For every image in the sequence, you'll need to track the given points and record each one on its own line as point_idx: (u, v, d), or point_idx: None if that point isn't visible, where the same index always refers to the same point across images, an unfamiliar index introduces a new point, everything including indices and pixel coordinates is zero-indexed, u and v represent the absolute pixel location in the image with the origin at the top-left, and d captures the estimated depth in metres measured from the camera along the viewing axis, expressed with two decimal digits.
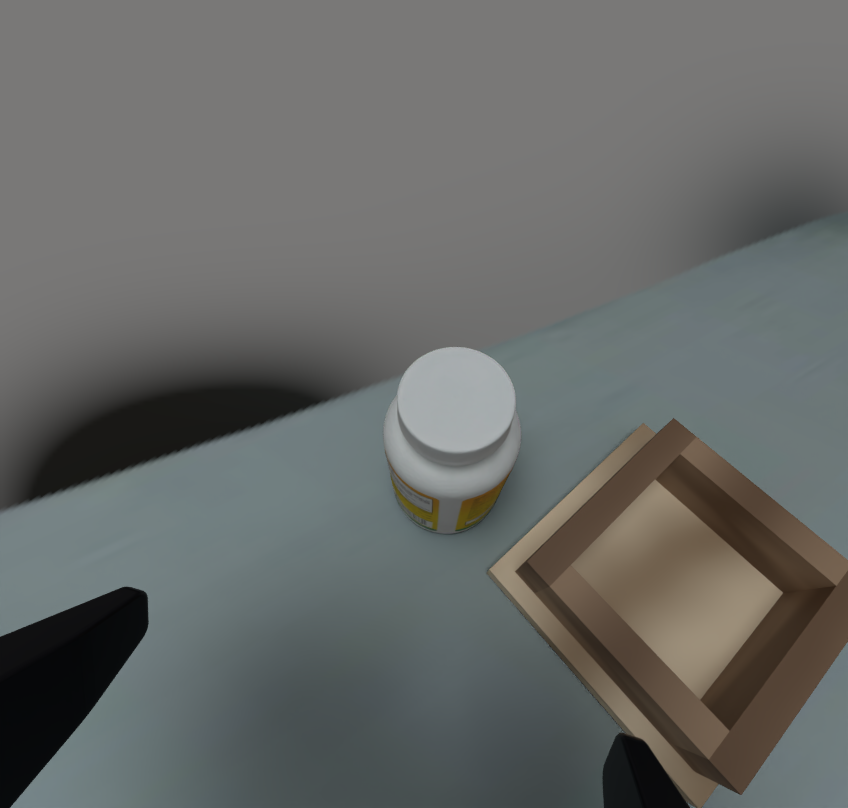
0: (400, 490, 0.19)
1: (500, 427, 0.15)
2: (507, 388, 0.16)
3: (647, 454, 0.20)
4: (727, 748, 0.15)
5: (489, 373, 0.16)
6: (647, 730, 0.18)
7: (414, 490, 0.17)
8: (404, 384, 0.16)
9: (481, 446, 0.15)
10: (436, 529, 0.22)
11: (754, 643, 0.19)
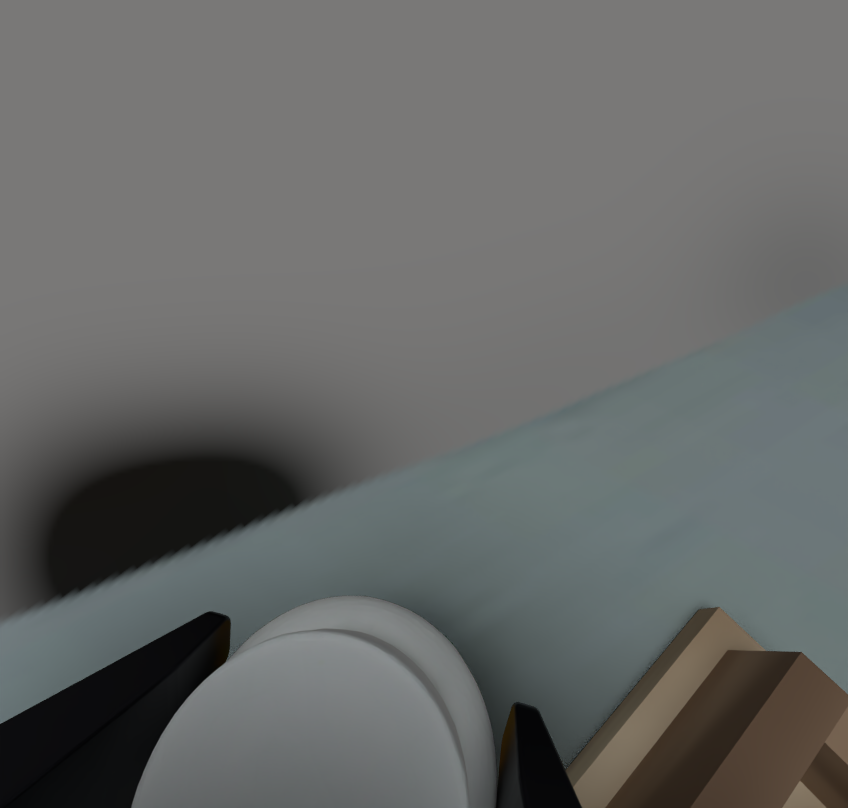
0: None
1: None
2: (447, 792, 0.05)
3: (758, 742, 0.10)
4: None
5: (400, 731, 0.06)
6: None
7: None
8: (155, 774, 0.06)
9: None
10: None
11: None
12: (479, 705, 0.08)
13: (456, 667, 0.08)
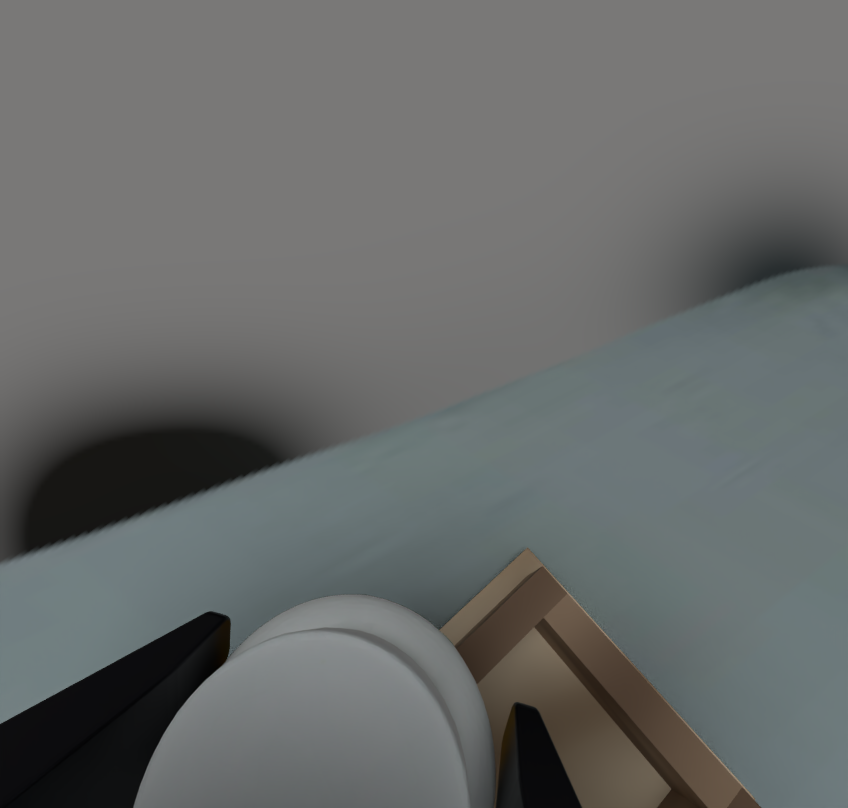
0: None
1: None
2: (448, 789, 0.05)
3: (503, 617, 0.16)
4: None
5: (402, 729, 0.06)
6: None
7: None
8: (158, 773, 0.06)
9: None
10: None
11: None
12: (478, 703, 0.08)
13: (456, 665, 0.08)
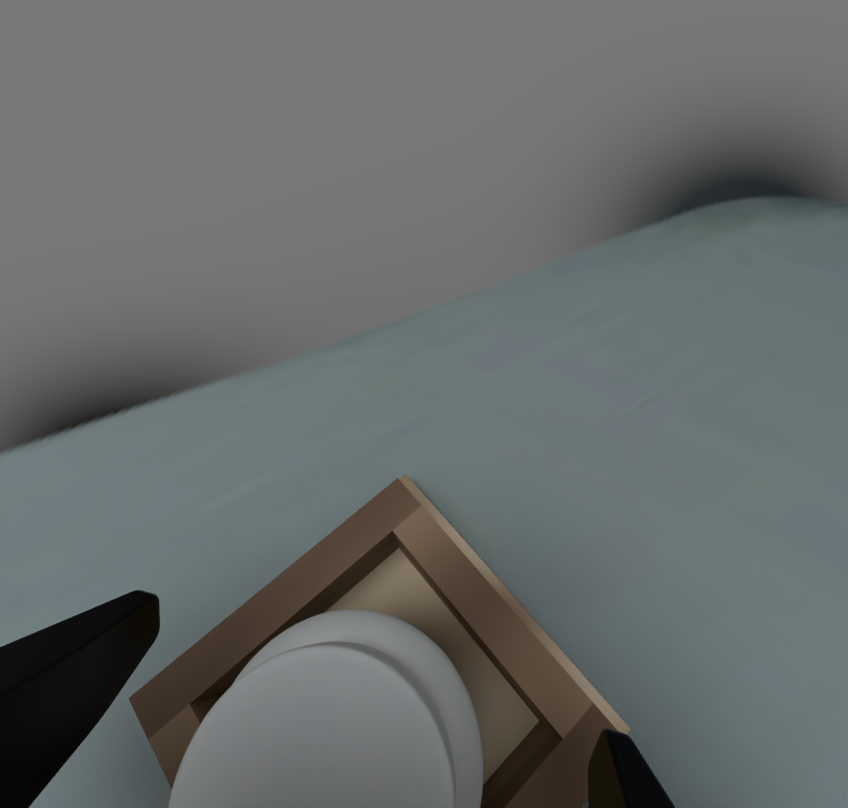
0: None
1: None
2: (436, 782, 0.06)
3: (347, 530, 0.15)
4: None
5: (397, 731, 0.07)
6: None
7: None
8: (190, 766, 0.07)
9: None
10: None
11: None
12: (468, 708, 0.09)
13: (448, 674, 0.09)
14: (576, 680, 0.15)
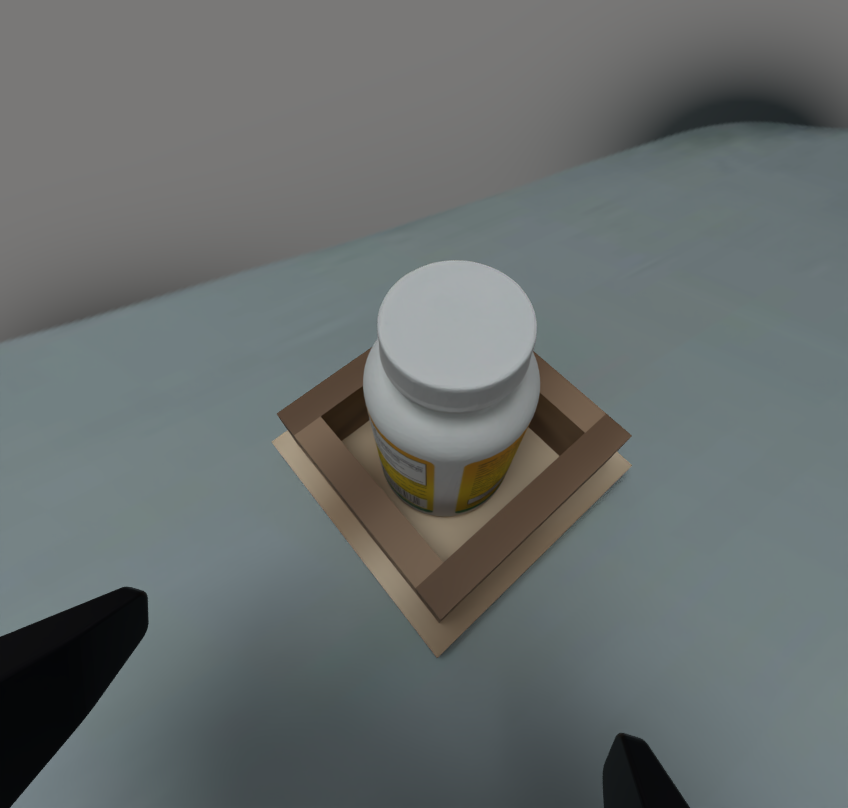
0: (386, 457, 0.15)
1: (516, 358, 0.11)
2: (525, 309, 0.12)
3: None
4: (436, 577, 0.15)
5: (501, 291, 0.12)
6: (399, 586, 0.18)
7: (401, 452, 0.13)
8: (387, 305, 0.12)
9: (490, 383, 0.11)
10: (432, 510, 0.18)
11: None
12: None
13: None
14: None
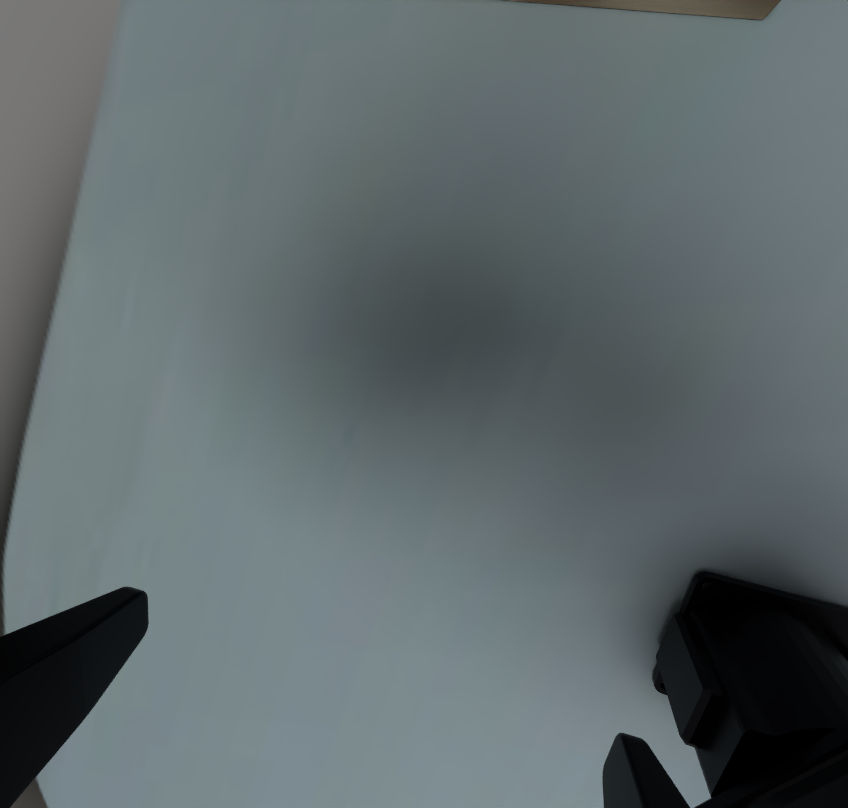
0: None
1: None
2: None
3: None
4: None
5: None
6: None
7: None
8: None
9: None
10: None
11: None
12: None
13: None
14: None
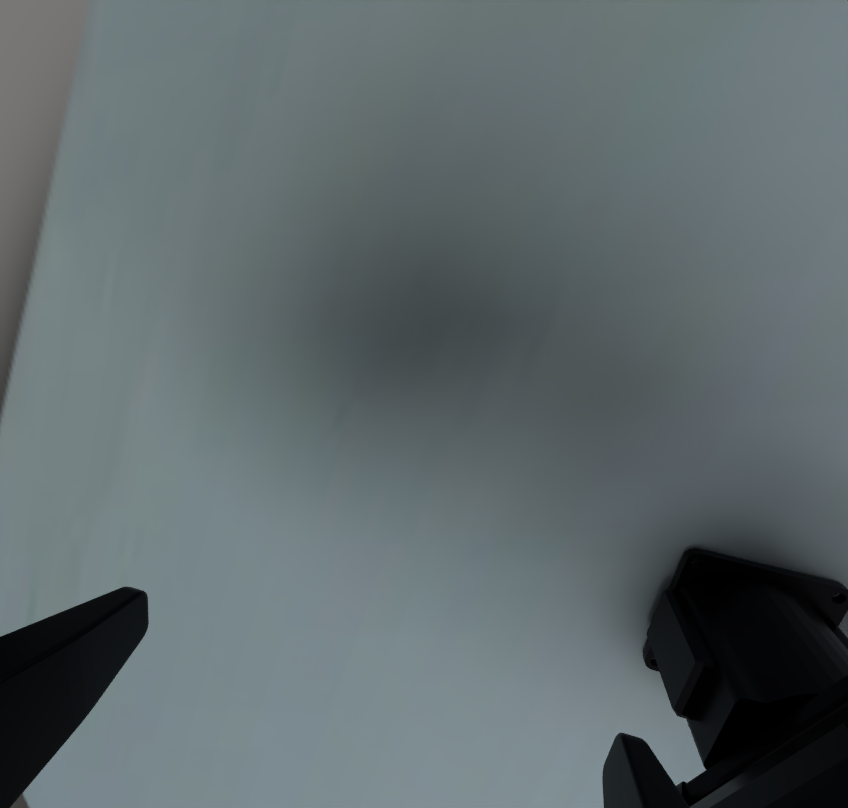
0: None
1: None
2: None
3: None
4: None
5: None
6: None
7: None
8: None
9: None
10: None
11: None
12: None
13: None
14: None
